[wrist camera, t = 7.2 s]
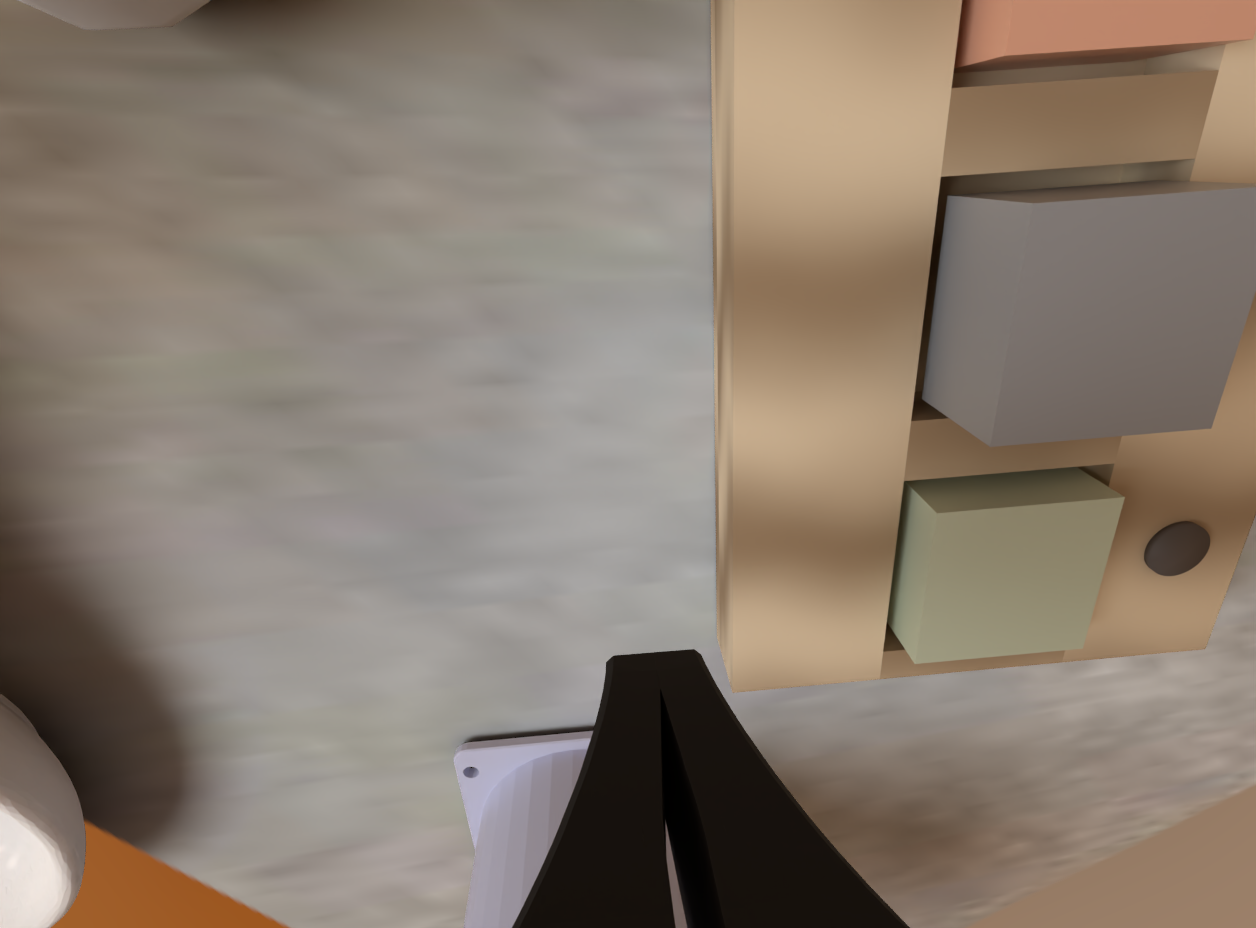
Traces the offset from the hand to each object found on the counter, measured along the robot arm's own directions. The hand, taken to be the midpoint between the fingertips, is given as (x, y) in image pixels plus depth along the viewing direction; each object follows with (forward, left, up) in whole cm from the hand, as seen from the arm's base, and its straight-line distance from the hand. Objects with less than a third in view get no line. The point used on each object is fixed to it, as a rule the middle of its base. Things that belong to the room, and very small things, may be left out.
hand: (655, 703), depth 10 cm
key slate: (+4, -10, -7) cm, 13 cm away
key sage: (-3, -10, -9) cm, 13 cm away
